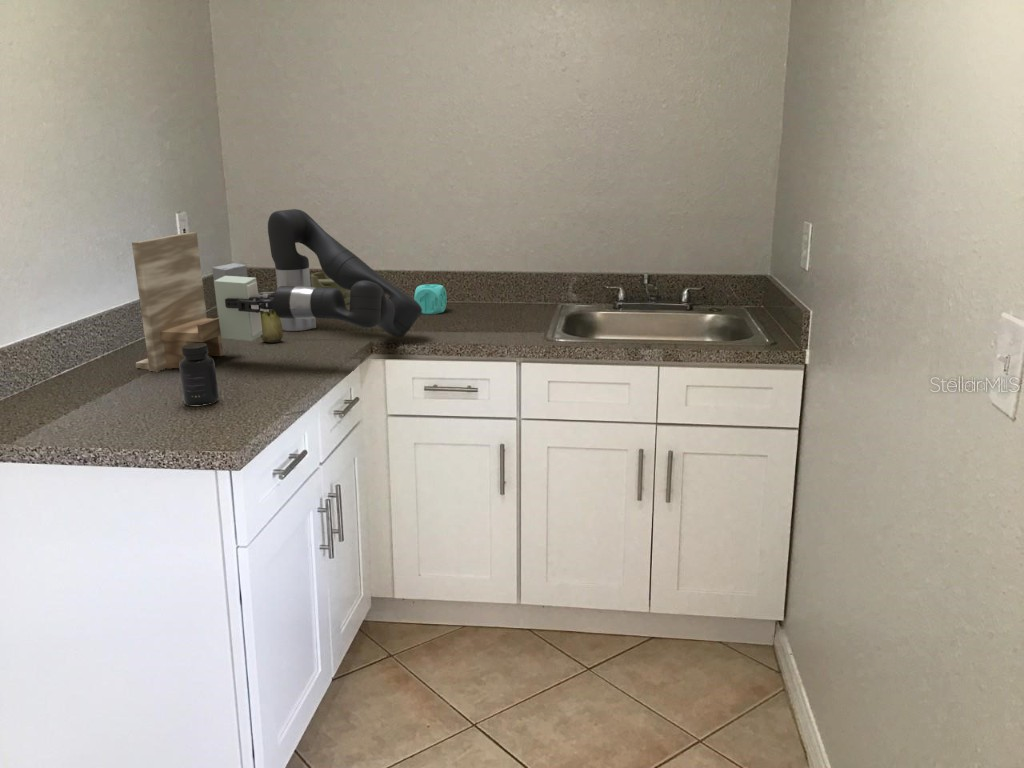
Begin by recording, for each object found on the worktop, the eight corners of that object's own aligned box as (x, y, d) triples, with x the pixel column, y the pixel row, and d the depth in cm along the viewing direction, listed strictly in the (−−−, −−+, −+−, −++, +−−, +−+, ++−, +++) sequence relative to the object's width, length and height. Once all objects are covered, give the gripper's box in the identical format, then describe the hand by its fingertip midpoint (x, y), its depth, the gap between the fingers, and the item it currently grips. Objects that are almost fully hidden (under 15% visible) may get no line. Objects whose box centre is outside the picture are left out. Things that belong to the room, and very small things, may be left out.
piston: (315, 271, 267) (351, 271, 266) (319, 309, 270) (354, 308, 270) (307, 277, 256) (344, 276, 256) (310, 316, 259) (347, 316, 259)
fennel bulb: (257, 343, 225) (252, 298, 222) (268, 339, 229) (264, 295, 226) (276, 344, 223) (271, 299, 220) (286, 340, 227) (282, 296, 224)
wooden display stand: (249, 351, 215) (236, 232, 207) (199, 374, 195) (183, 243, 187) (186, 349, 220) (171, 232, 211) (131, 370, 199) (112, 242, 191)
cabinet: (263, 334, 204) (257, 277, 199) (253, 341, 199) (246, 283, 194) (232, 331, 206) (225, 275, 200) (221, 338, 201) (213, 281, 196)
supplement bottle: (189, 398, 177) (182, 342, 173) (222, 396, 177) (216, 340, 174) (179, 408, 170) (172, 349, 167) (214, 406, 171) (207, 348, 167)
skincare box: (238, 312, 266) (233, 262, 262) (253, 315, 262) (248, 264, 258) (215, 317, 260) (209, 265, 255) (230, 320, 256) (224, 267, 251)
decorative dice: (414, 314, 260) (413, 288, 258) (423, 309, 268) (421, 283, 265) (439, 314, 258) (438, 288, 256) (447, 309, 266) (446, 284, 264)
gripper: (285, 324, 190) (217, 322, 194) (313, 312, 204) (249, 310, 207) (282, 291, 188) (214, 290, 192) (311, 281, 202) (246, 280, 205)
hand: (233, 300), depth 200 cm, fingers closed on cabinet, 5 cm apart
